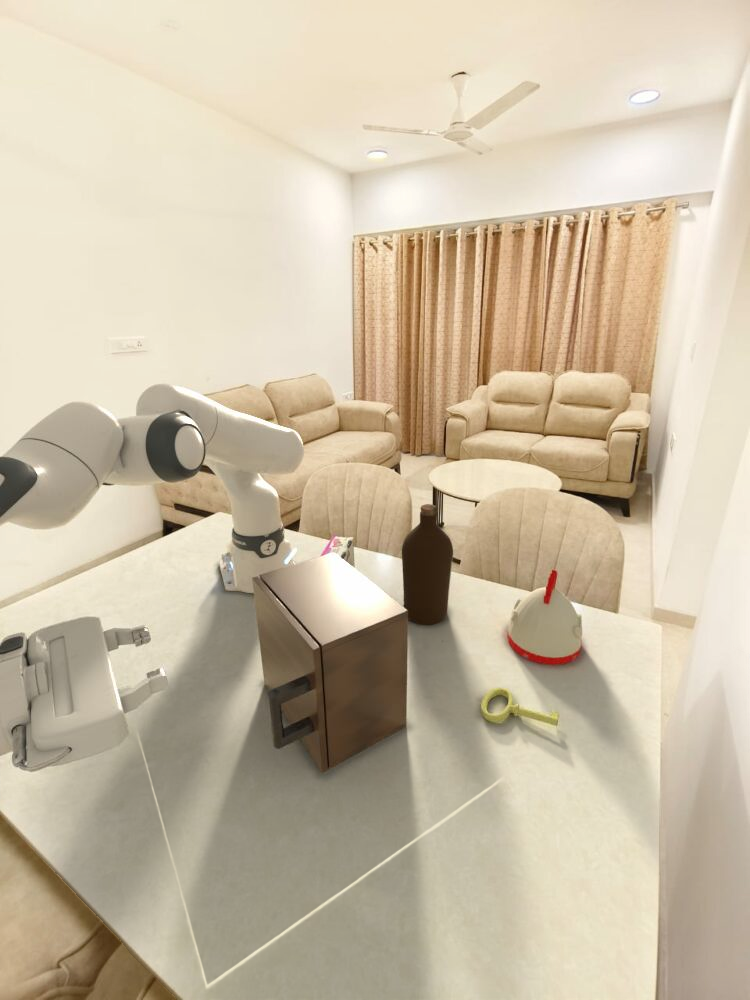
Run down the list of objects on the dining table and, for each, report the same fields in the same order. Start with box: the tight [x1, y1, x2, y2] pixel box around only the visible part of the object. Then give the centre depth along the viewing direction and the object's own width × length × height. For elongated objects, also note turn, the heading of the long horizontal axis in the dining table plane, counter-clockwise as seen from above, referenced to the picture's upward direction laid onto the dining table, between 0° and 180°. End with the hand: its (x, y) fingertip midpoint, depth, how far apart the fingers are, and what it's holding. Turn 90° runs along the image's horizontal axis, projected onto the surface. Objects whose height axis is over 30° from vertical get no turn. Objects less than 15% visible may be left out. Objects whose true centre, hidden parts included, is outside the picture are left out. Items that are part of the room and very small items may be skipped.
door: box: [252, 576, 329, 773], centre depth 76 cm, size 7×22×22 cm, turn 33°
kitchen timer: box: [506, 569, 583, 666], centre depth 97 cm, size 14×14×15 cm
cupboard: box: [259, 552, 409, 770], centre depth 81 cm, size 14×22×22 cm, turn 33°
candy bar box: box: [320, 535, 356, 569], centre depth 106 cm, size 11×5×16 cm, turn 168°
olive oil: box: [401, 503, 454, 626], centre depth 105 cm, size 11×11×25 cm
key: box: [480, 687, 560, 727], centre depth 83 cm, size 7×12×2 cm, turn 78°
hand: (157, 653), depth 58 cm, fingers open, 8 cm apart
